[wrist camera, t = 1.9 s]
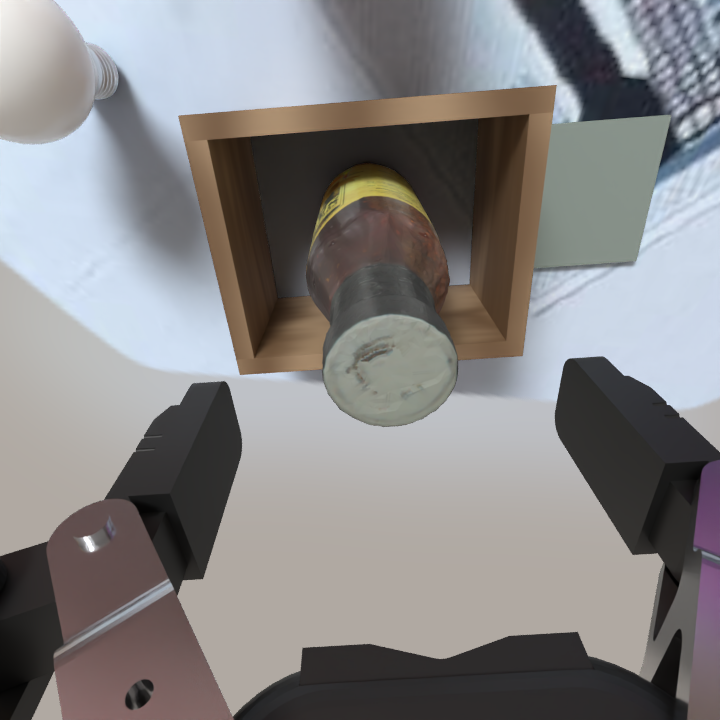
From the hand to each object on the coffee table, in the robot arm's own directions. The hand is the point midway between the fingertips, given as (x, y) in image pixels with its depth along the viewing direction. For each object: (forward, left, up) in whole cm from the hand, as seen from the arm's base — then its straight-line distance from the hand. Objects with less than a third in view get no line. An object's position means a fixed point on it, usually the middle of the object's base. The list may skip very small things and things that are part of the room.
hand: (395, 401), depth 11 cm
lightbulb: (+15, -9, -22) cm, 28 cm away
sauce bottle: (0, 0, -22) cm, 22 cm away
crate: (0, 0, -22) cm, 22 cm away
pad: (-14, 0, -22) cm, 26 cm away
